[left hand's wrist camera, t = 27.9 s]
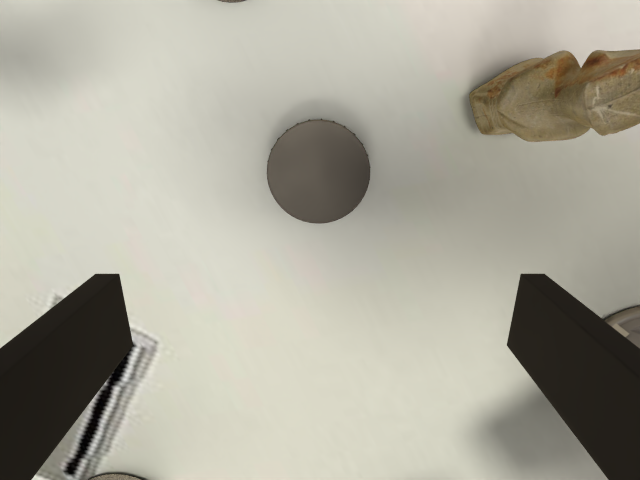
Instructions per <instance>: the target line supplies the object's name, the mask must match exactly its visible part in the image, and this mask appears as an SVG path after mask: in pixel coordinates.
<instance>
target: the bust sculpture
mask: <svg viewBox="0 0 640 480" xmlns="http://www.w3.org/2000/svg"><path fill="white" fill-rule="evenodd" d="M90 480H141V479H138V478H135V477H132V476H127V475H120V474H108V475H102V476H98V477H95V478H92V479H90Z"/></svg>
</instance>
